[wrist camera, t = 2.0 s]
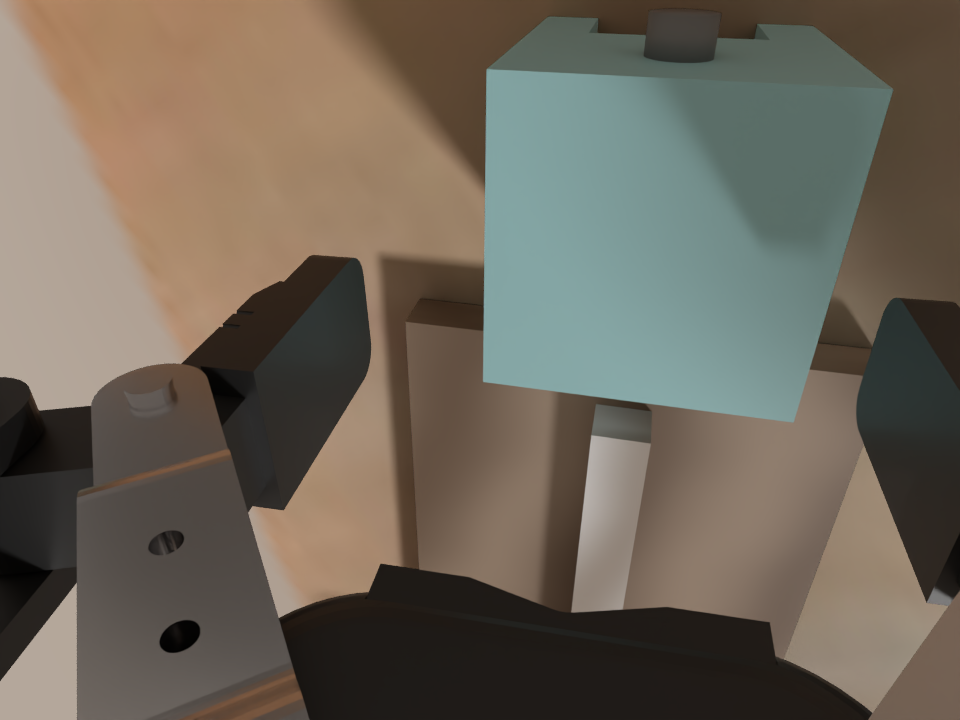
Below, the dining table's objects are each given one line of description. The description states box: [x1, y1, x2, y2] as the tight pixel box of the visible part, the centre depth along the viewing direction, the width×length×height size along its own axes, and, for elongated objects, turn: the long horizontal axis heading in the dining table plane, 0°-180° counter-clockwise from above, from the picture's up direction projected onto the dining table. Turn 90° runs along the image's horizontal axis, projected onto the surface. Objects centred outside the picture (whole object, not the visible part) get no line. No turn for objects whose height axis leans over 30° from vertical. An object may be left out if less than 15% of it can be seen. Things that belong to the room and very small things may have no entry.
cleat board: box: [405, 299, 872, 659], centre depth 24 cm, size 13×22×6 cm, turn 0°
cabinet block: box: [483, 8, 893, 423], centre depth 15 cm, size 6×7×7 cm
